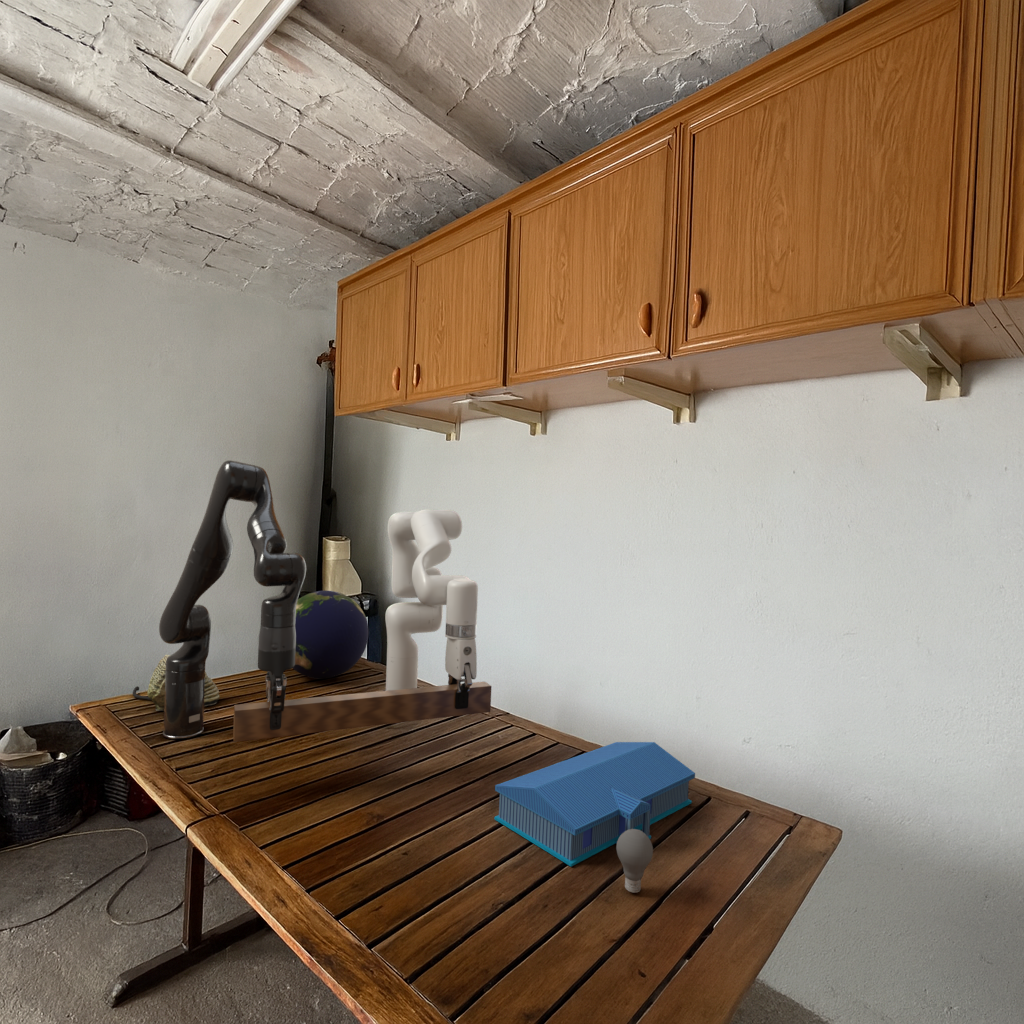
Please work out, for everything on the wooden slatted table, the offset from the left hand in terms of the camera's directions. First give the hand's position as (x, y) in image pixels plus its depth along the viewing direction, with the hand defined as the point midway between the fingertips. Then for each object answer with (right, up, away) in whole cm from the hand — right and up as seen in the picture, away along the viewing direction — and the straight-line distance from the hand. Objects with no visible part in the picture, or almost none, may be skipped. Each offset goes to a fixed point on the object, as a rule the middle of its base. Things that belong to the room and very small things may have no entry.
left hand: (274, 724), depth 136 cm
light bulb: (+71, -18, -30) cm, 79 cm away
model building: (+70, -17, -4) cm, 72 cm away
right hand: (+38, -1, +18) cm, 42 cm away
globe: (-15, -12, +83) cm, 86 cm away
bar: (+19, -3, +9) cm, 21 cm away
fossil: (-45, -11, +49) cm, 67 cm away
